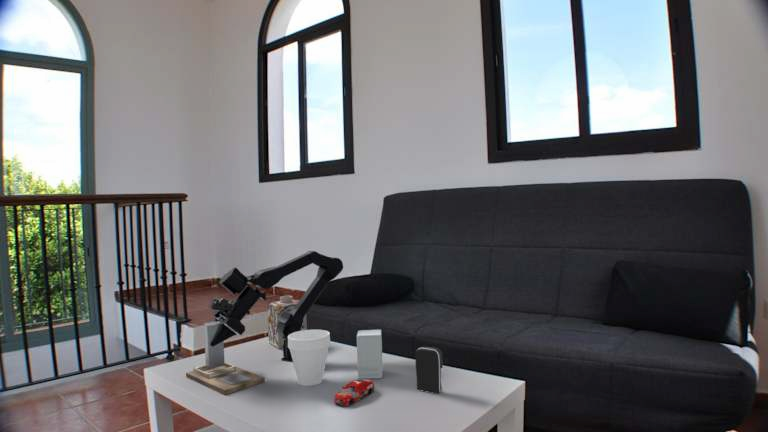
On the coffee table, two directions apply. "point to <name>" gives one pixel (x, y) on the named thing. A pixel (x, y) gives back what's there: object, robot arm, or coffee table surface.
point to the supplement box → (369, 354)
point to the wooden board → (224, 378)
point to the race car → (354, 392)
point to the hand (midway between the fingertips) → (209, 344)
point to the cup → (309, 354)
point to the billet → (216, 352)
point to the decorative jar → (275, 313)
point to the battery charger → (429, 369)
